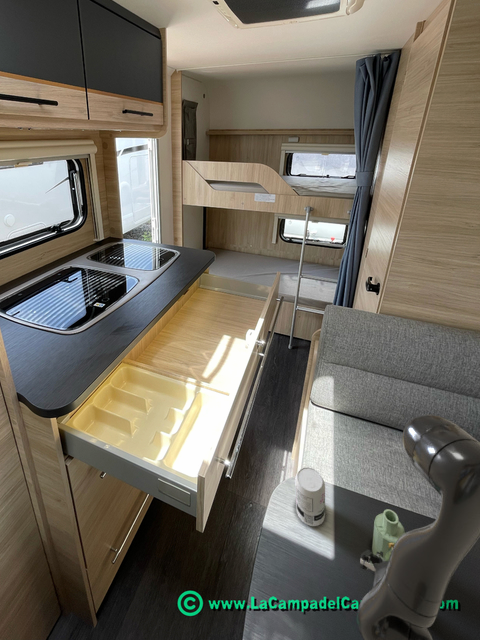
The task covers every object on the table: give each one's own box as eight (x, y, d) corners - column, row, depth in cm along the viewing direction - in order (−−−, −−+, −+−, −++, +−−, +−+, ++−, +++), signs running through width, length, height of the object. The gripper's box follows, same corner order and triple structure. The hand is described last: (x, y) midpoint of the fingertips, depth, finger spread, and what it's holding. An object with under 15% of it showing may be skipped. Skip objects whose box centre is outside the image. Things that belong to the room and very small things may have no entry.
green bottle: (403, 553, 86) (409, 513, 81) (397, 578, 82) (403, 537, 76) (376, 535, 91) (379, 496, 85) (369, 558, 86) (372, 519, 81)
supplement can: (293, 499, 103) (291, 466, 97) (319, 497, 102) (319, 464, 97) (300, 528, 95) (299, 494, 90) (328, 527, 94) (329, 492, 89)
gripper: (442, 595, 61) (434, 564, 74) (357, 549, 69) (364, 528, 82) (439, 644, 59) (431, 603, 72) (352, 591, 67) (359, 563, 80)
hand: (395, 563), depth 77 cm, fingers open, 5 cm apart
